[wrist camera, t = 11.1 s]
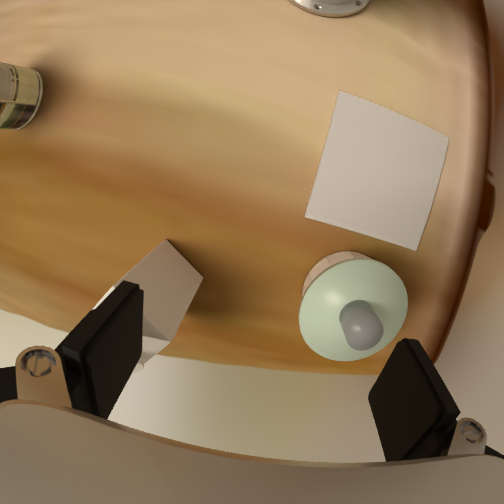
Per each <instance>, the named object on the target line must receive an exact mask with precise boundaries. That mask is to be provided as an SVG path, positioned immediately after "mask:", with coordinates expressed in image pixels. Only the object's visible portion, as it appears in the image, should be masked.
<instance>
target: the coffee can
mask: <svg viewBox="0 0 504 504" xmlns="http://www.w3.org/2000/svg"><path fill="white" fill-rule="evenodd" d="M42 94H43V81H42V78H41V75H40V74H39V72H38V71H36V70H35V69H29V68H24V67H20V66H16V65H11V64H7V63H1V62H0V129H21V128H23V127H25V126H26V125H27V124H28V123H29V122H30V121H31V120H32V119H33V117H34V116H35V114H36V112H37V110H38V108H39V106H40V103H41V99H42Z"/></svg>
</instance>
